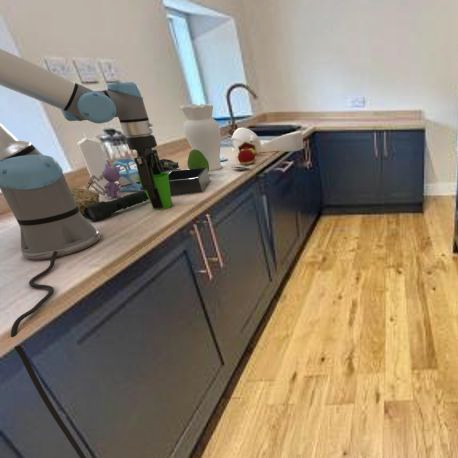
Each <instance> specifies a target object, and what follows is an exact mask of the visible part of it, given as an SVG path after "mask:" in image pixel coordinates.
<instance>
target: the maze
mask: <svg viewBox="0 0 458 458" xmlns="http://www.w3.org/2000/svg"><path fill="white" fill-rule="evenodd" d="M92 177H93V178H92ZM92 177H90V179H89V181H88V182H87V184H86V186H85V189H90V187H91V188H93V190H94V191H98V192H99V195H101V196H104V197H105V196H108V194H107V191H108V190H107V189H106V190H105V191H104V190H103V189H102V187H100V186H99V184H97V183H96V182H95V181H92V180H93V179H94V178H95V179H96V180H98V182H99V181H100V179H101V177H102V176H101V177H99V178H100V179H97V178H96V177H95V176H93V175H92ZM101 180H103V177H102V179H101ZM93 183H95V184H96V185H97V186H99V188H100V189H102V190H103V191H104V192H101V191H99V190H97V188H96V187H94V184H93Z"/></svg>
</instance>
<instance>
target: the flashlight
mask: <svg viewBox="0 0 458 458" xmlns="http://www.w3.org/2000/svg"><path fill="white" fill-rule="evenodd" d="M147 201H150V200H149V198H148V196H147V194H146V193H145V191H144V190H143V189H142V190H138V191H135V192H132V193H129V194H126V195H123V196H119V197H116V198H115V199H113V200H107V201H104V200H103V201H100V202H98V203H95V204H92V205H89V206H87V207H85V209H84V214H83V215H84V217H85V218H86V219H87V220H88V221H89V222H90V221H91V222H95V221H100V220H102V219H105V218H107V217H110V216H112V215H113V214H115V213H116V212H118V211H121V210H125V209H128V208H130V207H131V208H132V207H133V206H137V205H140V204H143V203H144V202H147Z"/></svg>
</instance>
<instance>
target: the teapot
mask: <svg viewBox="0 0 458 458" xmlns="http://www.w3.org/2000/svg"><path fill="white" fill-rule="evenodd" d="M260 140H261V139H260V138H259V136H258V134H256V133H255V132H254V131H253V130H252V129H249V128H246V127H238V128H236V130H234V132H233V134H232V136H231V138H230V144H231V146H232V149H231V151H232V152H234V153H235V152H236V153H238V152H239V150H238V147H237V146H239V145H240V144H241V143H243V142H244V141H247V142H250V143H253V144H255V146H256V150H257V154H259V153H260V152H259V151H260V150H261V143H260ZM258 152H259V153H258Z"/></svg>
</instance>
